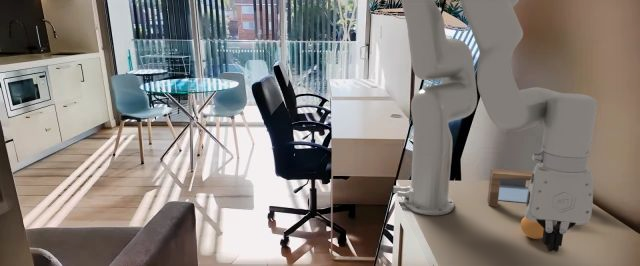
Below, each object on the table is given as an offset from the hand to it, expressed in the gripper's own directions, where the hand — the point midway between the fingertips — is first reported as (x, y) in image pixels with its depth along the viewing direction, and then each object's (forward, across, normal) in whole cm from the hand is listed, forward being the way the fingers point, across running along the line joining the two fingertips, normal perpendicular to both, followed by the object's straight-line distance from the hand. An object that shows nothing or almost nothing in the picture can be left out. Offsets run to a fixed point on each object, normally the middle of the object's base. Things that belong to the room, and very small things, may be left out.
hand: (551, 247), depth 77 cm
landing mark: (+3, -1, +32) cm, 32 cm away
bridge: (+3, -1, +25) cm, 25 cm away
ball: (0, -1, +10) cm, 10 cm away
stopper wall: (+3, -1, +37) cm, 38 cm away
